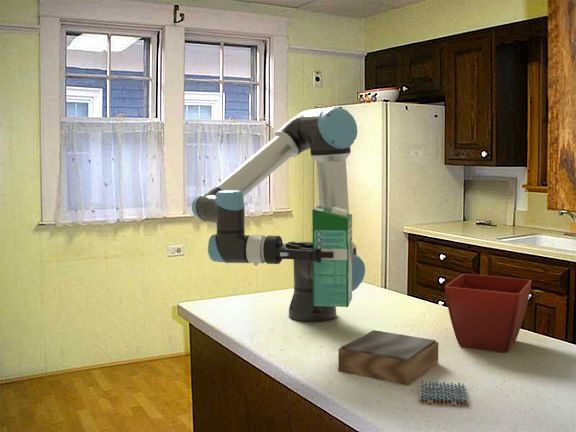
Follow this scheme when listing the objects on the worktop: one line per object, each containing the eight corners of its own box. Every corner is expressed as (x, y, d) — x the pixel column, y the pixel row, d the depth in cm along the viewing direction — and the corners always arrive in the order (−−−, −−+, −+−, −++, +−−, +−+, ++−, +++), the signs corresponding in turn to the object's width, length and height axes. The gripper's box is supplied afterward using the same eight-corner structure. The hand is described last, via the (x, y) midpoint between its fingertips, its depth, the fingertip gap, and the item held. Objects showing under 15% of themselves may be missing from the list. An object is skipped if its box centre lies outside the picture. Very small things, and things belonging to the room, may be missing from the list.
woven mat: (418, 407, 140) (418, 397, 140) (418, 388, 150) (418, 379, 150) (469, 410, 138) (470, 400, 138) (466, 391, 148) (466, 382, 148)
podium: (338, 371, 161) (338, 346, 160) (372, 351, 176) (372, 329, 175) (408, 385, 151) (408, 359, 150) (438, 363, 166) (438, 340, 165)
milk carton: (348, 307, 170) (347, 209, 167) (312, 305, 172) (312, 208, 169) (352, 298, 178) (352, 205, 176) (318, 297, 180) (318, 205, 177)
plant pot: (517, 358, 169) (519, 293, 167) (442, 348, 178) (443, 286, 176) (530, 339, 185) (532, 279, 184) (461, 330, 195) (462, 273, 193)
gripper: (276, 256, 189) (356, 258, 183) (254, 271, 168) (343, 274, 162) (276, 230, 188) (356, 231, 183) (253, 241, 167) (343, 243, 162)
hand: (350, 251), depth 172 cm, fingers closed on milk carton, 9 cm apart
